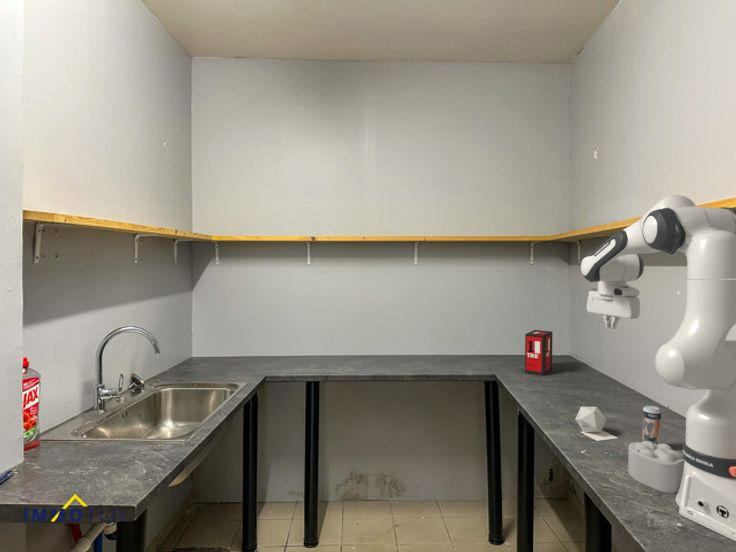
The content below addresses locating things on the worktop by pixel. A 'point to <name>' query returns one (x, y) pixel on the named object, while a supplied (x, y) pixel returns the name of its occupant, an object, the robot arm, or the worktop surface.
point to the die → (590, 419)
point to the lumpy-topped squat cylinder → (656, 465)
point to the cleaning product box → (538, 352)
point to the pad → (600, 436)
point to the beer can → (651, 424)
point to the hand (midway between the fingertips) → (611, 328)
